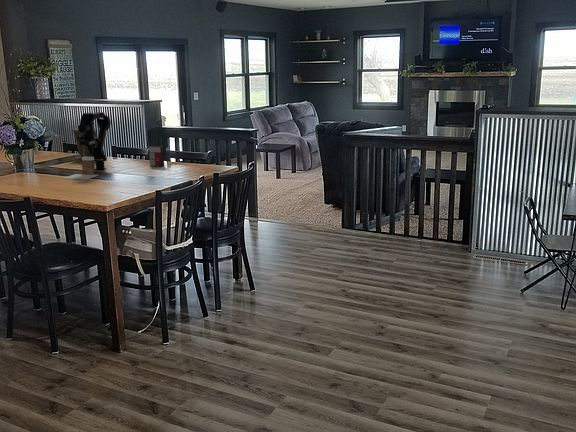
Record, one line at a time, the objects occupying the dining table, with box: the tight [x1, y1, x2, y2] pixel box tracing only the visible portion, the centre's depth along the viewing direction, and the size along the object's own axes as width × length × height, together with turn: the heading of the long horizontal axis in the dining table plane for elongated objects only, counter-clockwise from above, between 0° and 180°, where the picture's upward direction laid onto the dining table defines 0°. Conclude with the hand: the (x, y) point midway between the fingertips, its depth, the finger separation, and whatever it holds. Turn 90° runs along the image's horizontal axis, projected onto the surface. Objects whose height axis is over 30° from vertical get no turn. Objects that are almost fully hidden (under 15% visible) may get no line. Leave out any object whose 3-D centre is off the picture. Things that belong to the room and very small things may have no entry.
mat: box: [61, 173, 100, 181], centre depth 392 cm, size 17×18×1 cm
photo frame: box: [72, 127, 98, 158], centre depth 467 cm, size 15×22×25 cm
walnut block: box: [80, 157, 96, 175], centre depth 401 cm, size 4×7×12 cm, turn 79°
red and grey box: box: [148, 145, 165, 168], centre depth 434 cm, size 11×4×15 cm, turn 65°
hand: (91, 153), depth 408 cm, fingers closed
